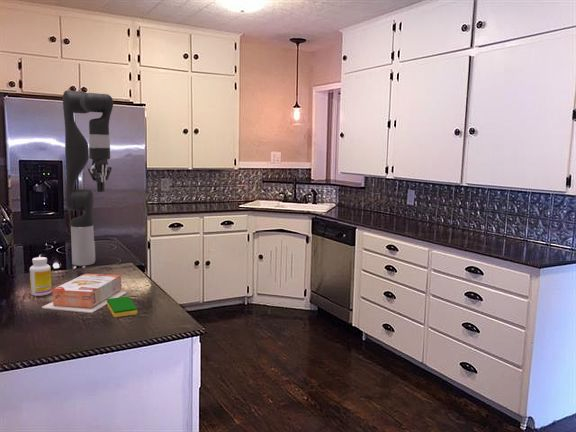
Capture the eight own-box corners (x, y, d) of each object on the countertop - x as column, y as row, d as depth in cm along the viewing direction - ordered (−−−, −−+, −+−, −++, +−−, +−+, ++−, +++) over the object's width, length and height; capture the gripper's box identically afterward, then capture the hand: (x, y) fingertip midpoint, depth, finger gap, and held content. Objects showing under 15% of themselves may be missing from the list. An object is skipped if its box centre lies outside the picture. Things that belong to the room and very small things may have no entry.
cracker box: (121, 273, 176) (91, 291, 155) (121, 289, 177) (92, 309, 156) (85, 272, 178) (51, 288, 157) (85, 287, 178) (52, 306, 158)
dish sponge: (114, 318, 151) (114, 311, 150) (106, 305, 162) (106, 298, 162) (137, 315, 154) (137, 308, 154) (128, 302, 166) (128, 295, 166)
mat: (82, 289, 178) (82, 287, 178) (127, 293, 175) (126, 291, 175) (41, 308, 157) (41, 307, 157) (91, 313, 154) (91, 311, 154)
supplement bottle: (56, 292, 173) (54, 257, 171) (39, 297, 167) (38, 261, 166) (43, 289, 176) (41, 255, 174) (26, 294, 170) (24, 259, 168)
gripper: (100, 146, 191) (101, 189, 194) (80, 146, 179) (81, 192, 181) (117, 147, 190) (118, 190, 193) (98, 147, 177) (100, 193, 180)
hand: (100, 191), depth 187 cm, fingers closed
